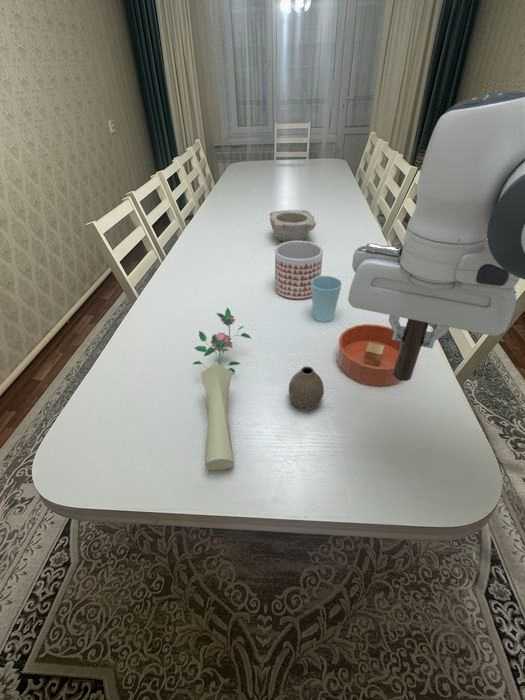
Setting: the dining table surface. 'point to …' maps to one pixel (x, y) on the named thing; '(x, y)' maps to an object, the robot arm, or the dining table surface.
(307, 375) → the vase
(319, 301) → the cup
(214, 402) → the flower vase
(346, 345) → the bowl
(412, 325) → the dark brown cylinder
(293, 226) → the mortar
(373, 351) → the block
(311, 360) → the dining table surface
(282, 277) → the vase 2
